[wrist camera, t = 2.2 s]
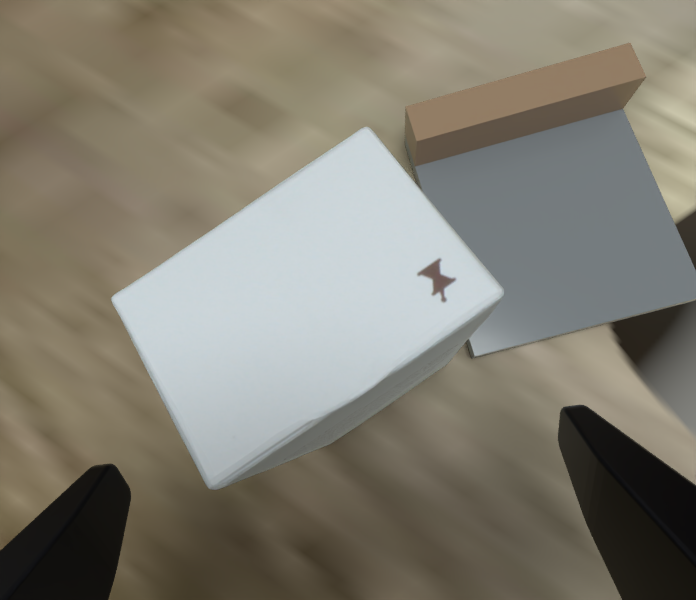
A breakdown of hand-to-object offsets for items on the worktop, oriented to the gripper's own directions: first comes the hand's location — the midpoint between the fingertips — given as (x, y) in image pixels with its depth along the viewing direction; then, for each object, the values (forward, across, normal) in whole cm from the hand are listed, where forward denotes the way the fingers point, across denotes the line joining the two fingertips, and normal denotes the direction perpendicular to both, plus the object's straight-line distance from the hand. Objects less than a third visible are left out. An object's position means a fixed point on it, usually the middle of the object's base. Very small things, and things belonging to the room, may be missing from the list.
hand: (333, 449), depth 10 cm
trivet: (+12, -8, +2) cm, 15 cm away
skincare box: (+9, 0, +5) cm, 11 cm away
